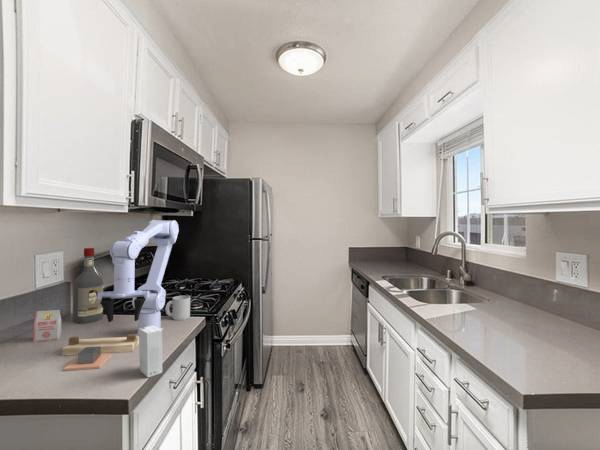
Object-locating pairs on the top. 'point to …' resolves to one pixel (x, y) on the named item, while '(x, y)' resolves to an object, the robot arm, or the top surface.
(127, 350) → the hand plane
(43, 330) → the white red printed carton
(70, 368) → the terracotta tile
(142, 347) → the skincare box
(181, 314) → the cup
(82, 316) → the liquor
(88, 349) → the gray rectangular block
